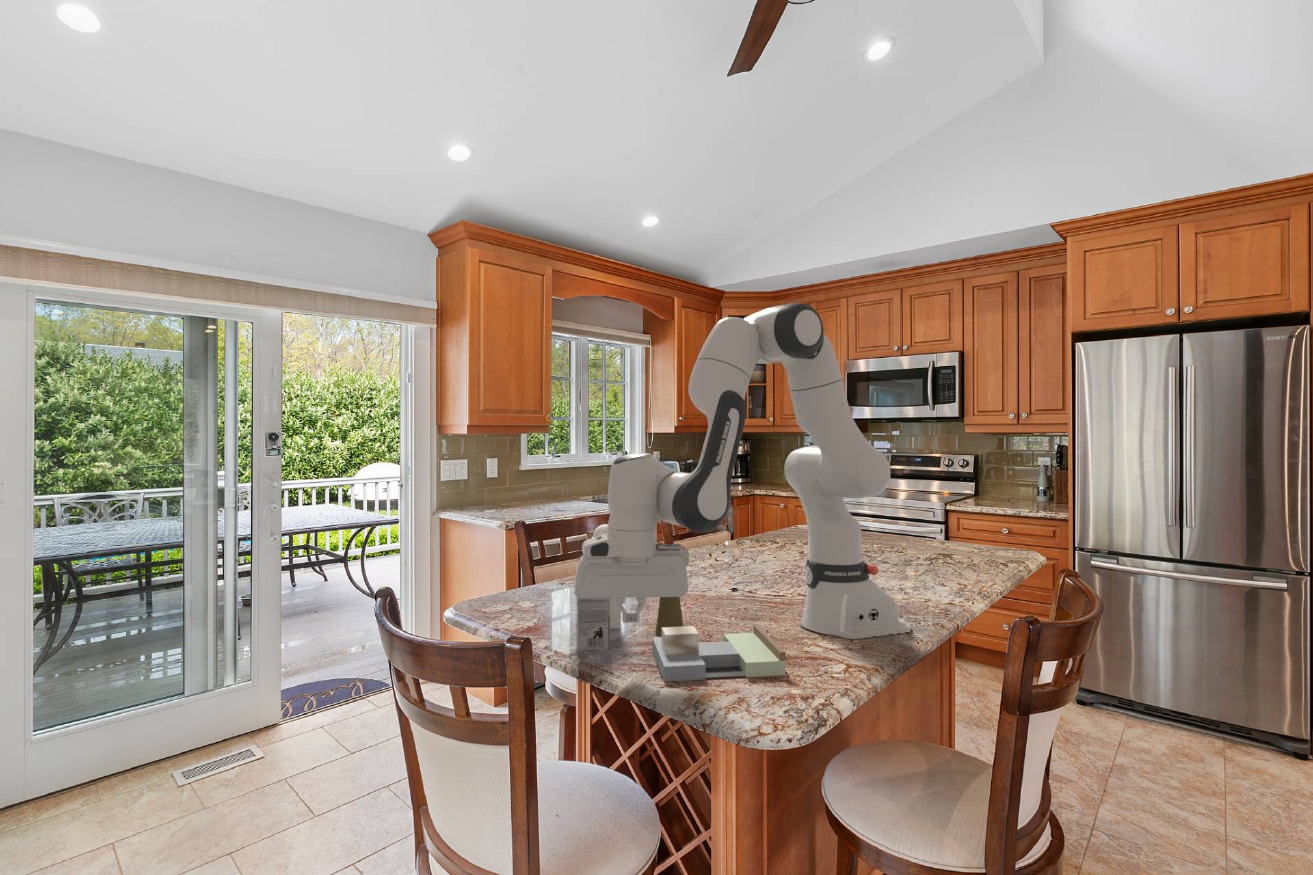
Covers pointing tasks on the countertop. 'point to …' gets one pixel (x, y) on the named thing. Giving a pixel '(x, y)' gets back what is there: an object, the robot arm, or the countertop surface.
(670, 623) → the cork
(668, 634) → the cream block
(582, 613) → the coffee box
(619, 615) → the white peg figure
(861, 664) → the countertop surface
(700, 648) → the track
